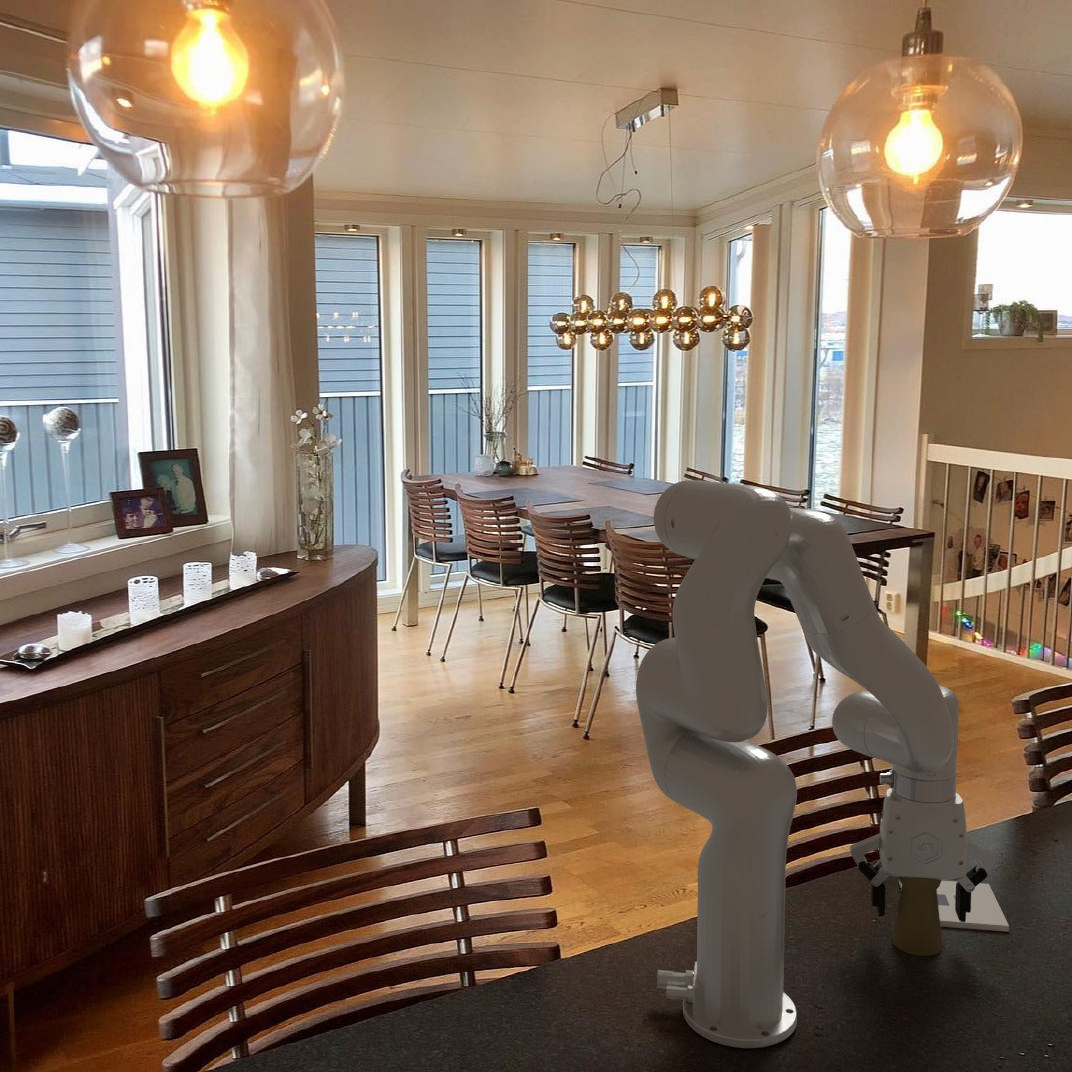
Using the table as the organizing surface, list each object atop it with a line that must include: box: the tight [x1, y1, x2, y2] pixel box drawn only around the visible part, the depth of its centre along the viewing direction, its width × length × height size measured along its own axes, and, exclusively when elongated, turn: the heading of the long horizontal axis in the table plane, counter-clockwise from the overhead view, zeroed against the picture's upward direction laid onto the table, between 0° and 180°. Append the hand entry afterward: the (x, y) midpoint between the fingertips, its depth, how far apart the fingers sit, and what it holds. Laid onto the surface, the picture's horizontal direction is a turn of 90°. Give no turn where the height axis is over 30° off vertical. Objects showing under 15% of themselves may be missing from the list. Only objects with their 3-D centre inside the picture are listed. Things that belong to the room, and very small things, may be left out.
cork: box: [891, 877, 943, 957], centre depth 136 cm, size 6×6×11 cm
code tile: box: [898, 879, 1010, 933], centre depth 146 cm, size 12×12×1 cm
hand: (920, 913), depth 136 cm, fingers open, 9 cm apart
